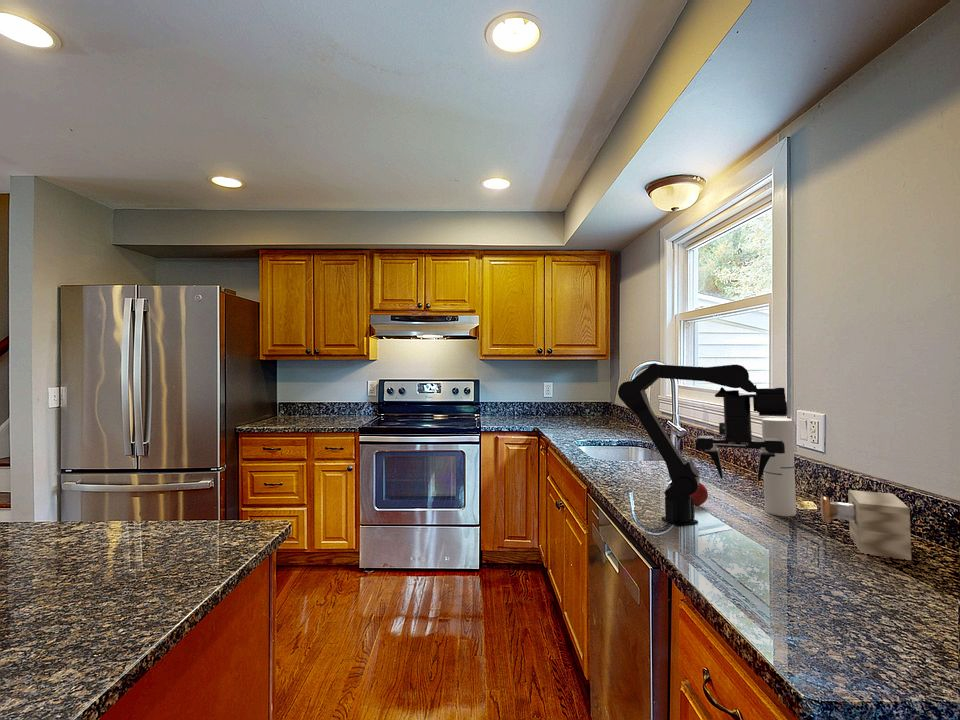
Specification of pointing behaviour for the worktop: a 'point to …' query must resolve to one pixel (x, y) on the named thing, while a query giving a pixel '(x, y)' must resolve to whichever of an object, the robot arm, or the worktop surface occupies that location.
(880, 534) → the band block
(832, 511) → the peg
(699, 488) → the onion
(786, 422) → the cylindrical container
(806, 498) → the worktop surface
